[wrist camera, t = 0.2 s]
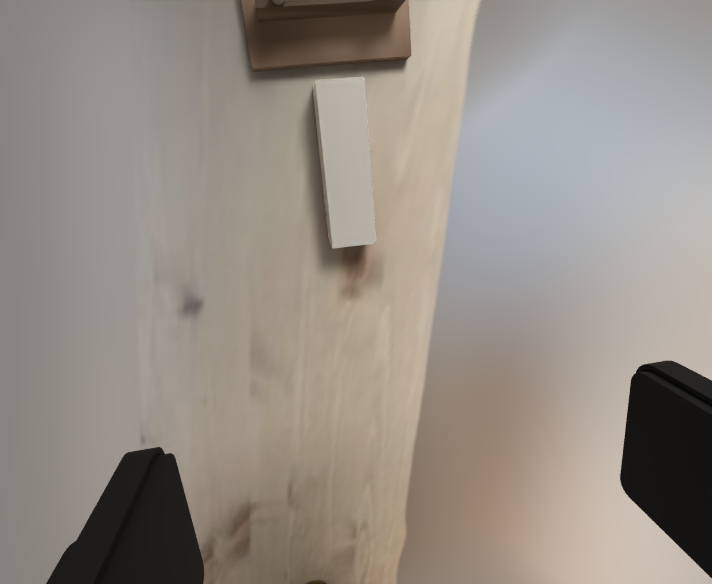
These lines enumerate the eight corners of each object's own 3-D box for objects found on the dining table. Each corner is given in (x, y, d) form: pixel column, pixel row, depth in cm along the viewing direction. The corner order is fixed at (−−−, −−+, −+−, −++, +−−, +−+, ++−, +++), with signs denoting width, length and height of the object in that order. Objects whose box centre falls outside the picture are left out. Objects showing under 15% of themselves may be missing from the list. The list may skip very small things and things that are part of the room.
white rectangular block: (312, 88, 34) (315, 80, 30) (356, 85, 34) (364, 76, 30) (328, 239, 37) (332, 248, 34) (367, 234, 38) (376, 243, 34)
